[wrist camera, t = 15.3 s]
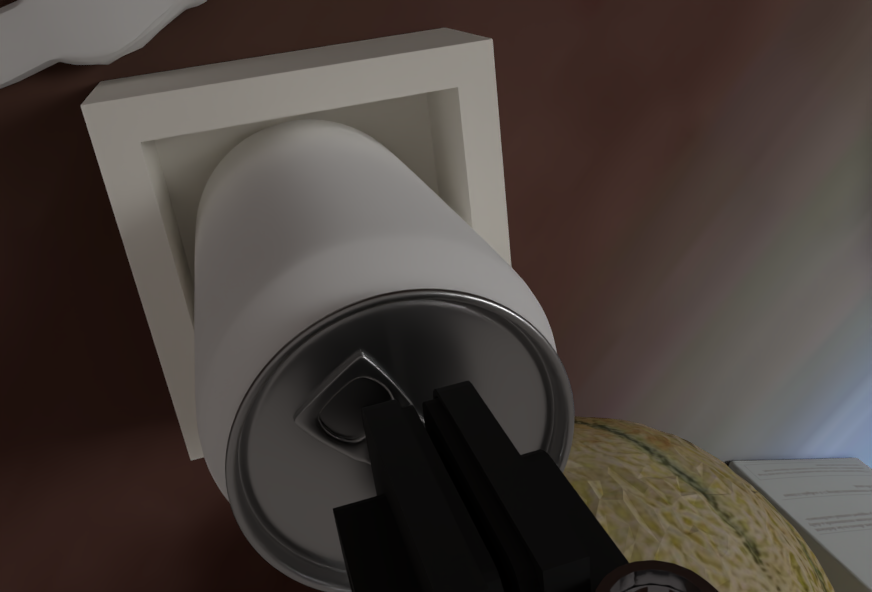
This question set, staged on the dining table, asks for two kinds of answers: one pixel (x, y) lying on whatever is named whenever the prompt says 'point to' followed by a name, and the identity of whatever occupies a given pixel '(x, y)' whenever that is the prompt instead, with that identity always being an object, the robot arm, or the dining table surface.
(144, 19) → the white long tapered piece
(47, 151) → the dining table surface
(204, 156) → the can holder
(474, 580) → the robot arm
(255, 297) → the can
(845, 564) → the supplement box
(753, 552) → the cantaloupe
